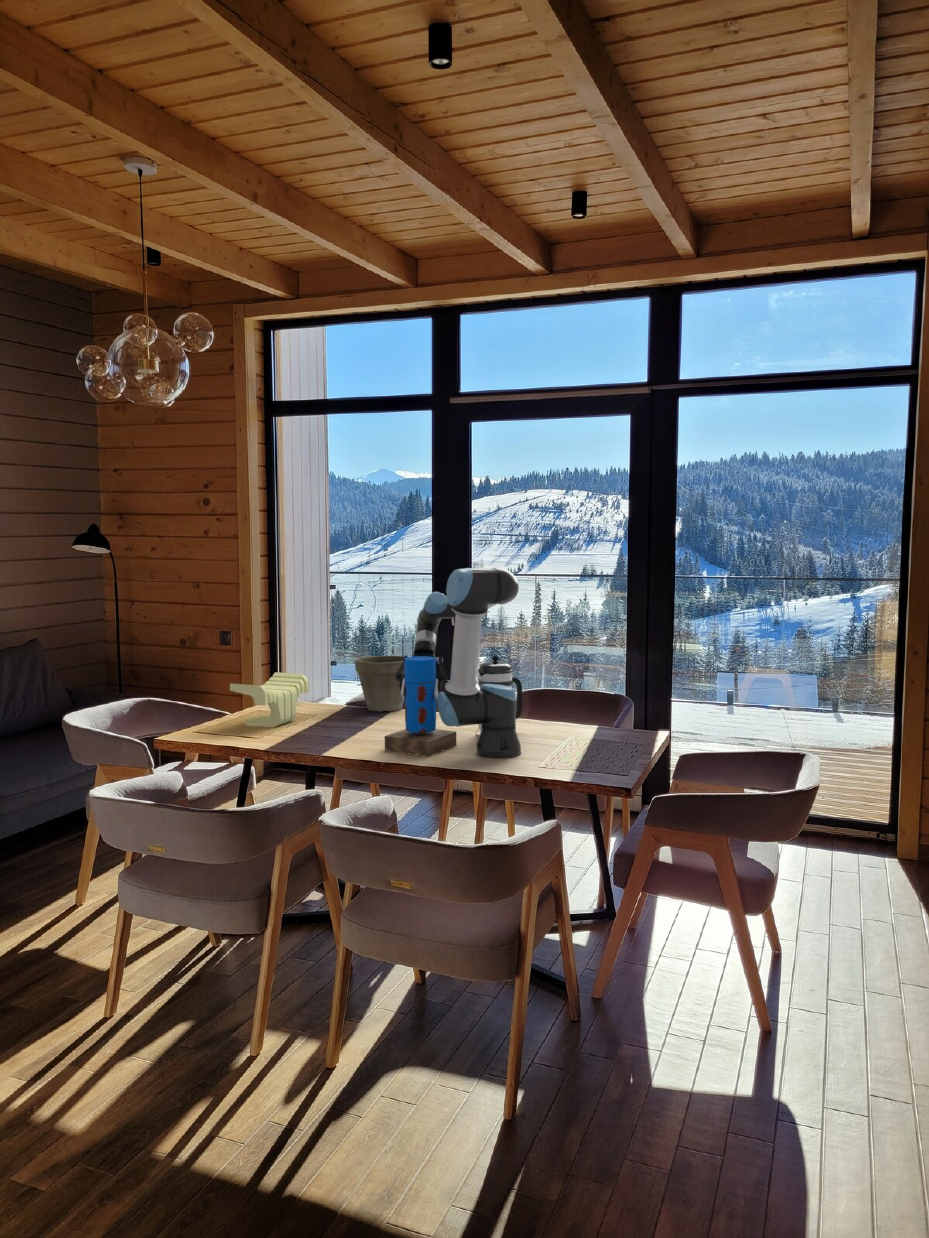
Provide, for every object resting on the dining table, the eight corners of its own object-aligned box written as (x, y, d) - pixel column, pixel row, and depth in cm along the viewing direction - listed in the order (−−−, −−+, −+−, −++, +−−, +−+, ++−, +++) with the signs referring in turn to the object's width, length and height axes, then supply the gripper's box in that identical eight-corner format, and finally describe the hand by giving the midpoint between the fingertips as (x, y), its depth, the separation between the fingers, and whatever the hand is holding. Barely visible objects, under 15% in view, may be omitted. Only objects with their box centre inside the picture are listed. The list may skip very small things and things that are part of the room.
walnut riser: (456, 745, 321) (456, 731, 320) (428, 756, 305) (428, 741, 305) (414, 739, 330) (413, 726, 329) (384, 750, 315) (384, 735, 314)
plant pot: (362, 703, 403) (361, 654, 401) (417, 703, 400) (417, 654, 398) (350, 714, 378) (349, 662, 376) (408, 714, 376) (408, 662, 374)
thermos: (407, 733, 311) (406, 661, 308) (403, 727, 321) (402, 656, 319) (438, 732, 313) (438, 659, 311) (433, 725, 323) (432, 655, 321)
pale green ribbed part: (266, 732, 344) (264, 685, 343) (231, 729, 350) (229, 683, 349) (309, 717, 372) (308, 674, 370) (276, 714, 378) (275, 672, 376)
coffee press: (515, 741, 326) (515, 658, 323) (471, 739, 329) (471, 657, 326) (522, 731, 343) (522, 652, 340) (480, 729, 346) (480, 651, 343)
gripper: (458, 652, 329) (453, 703, 315) (394, 652, 331) (387, 702, 317) (456, 639, 323) (451, 690, 309) (391, 639, 325) (384, 689, 311)
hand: (419, 696), depth 313 cm, fingers closed on thermos, 11 cm apart
